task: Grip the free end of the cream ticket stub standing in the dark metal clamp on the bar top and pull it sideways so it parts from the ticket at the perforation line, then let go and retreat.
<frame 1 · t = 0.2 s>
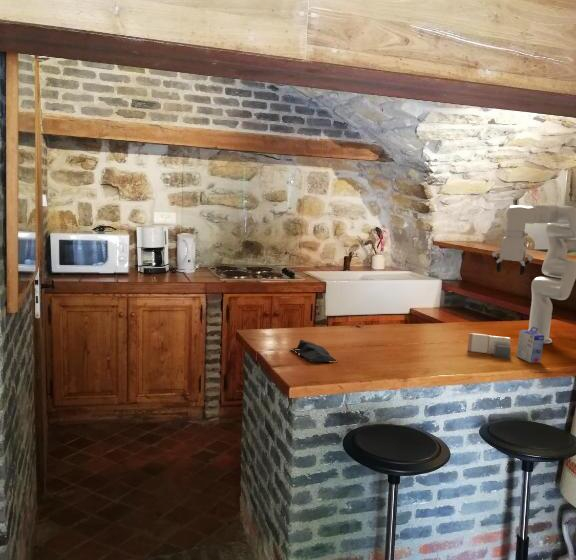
hand: (510, 273, 251), 36 cm above the table, tool pointing down, fingers open, 9 cm apart
stub: (477, 342, 254), point 4 cm above the table, slide at 0.0 cm
ink cartridge box: (528, 360, 247), on the table
dark fabric pouch: (314, 357, 240), on the table
ticket holder: (501, 354, 252), on the table
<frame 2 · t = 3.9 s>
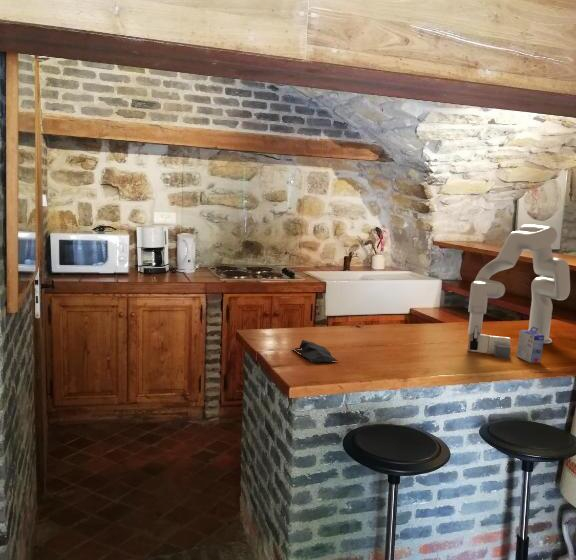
hand: (473, 348, 255), 1 cm above the table, tool pointing down, fingers closed on stub
stub: (477, 342, 254), point 4 cm above the table, slide at 0.0 cm, touching gripper
everything else where it was.
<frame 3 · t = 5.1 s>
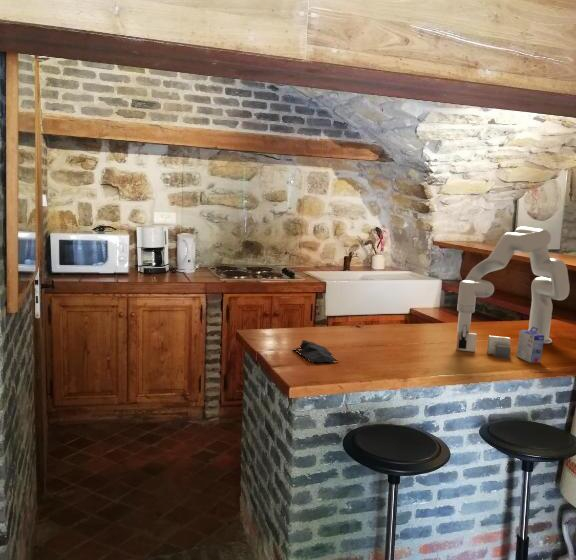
hand: (462, 347, 256), 1 cm above the table, tool pointing down, fingers closed on stub
stub: (466, 341, 255), point 4 cm above the table, slide at 4.9 cm, touching gripper
everything else where it was.
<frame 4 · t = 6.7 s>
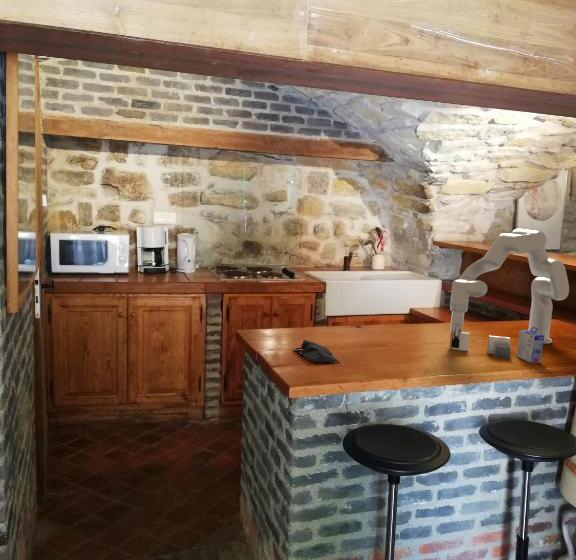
hand: (455, 346, 257), 1 cm above the table, tool pointing down, fingers closed on stub
stub: (459, 340, 256), point 4 cm above the table, slide at 8.0 cm, touching gripper
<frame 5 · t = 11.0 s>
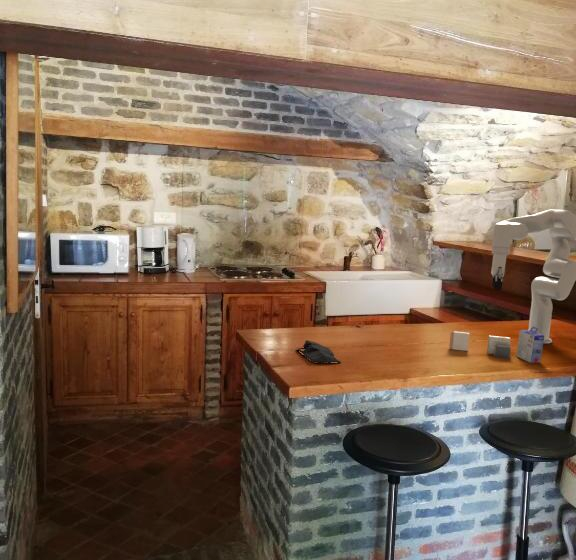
hand: (496, 288, 257), 28 cm above the table, tool pointing down, fingers open, 9 cm apart
stub: (459, 340, 256), point 4 cm above the table, slide at 8.0 cm
at the end: stub slide at 8.0 cm; the gripper is holding nothing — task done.
